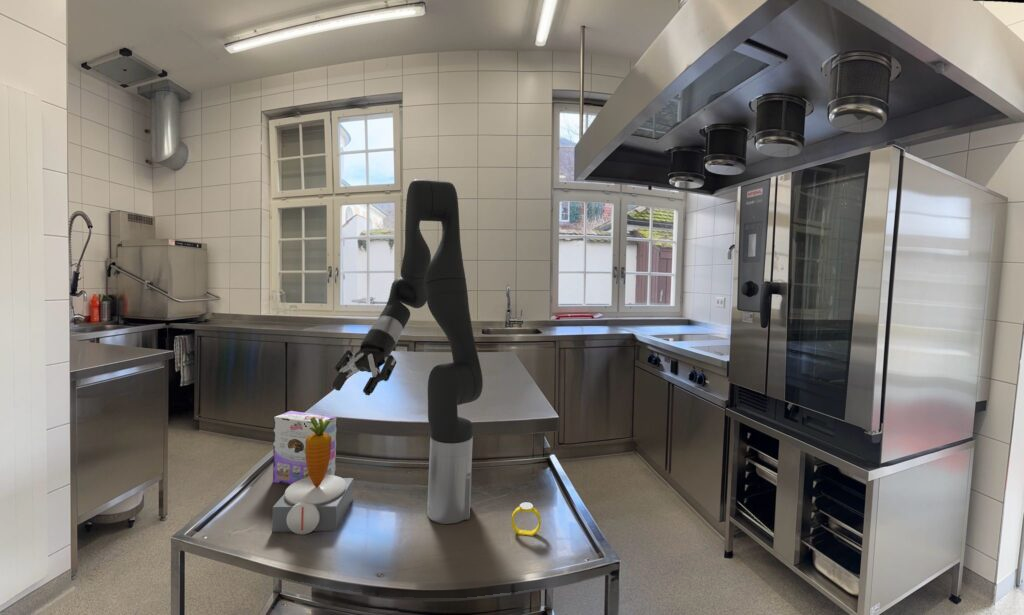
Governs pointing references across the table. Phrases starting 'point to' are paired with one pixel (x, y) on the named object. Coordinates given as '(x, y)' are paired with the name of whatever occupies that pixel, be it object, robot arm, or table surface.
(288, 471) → the candy box
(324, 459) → the carrot
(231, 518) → the table surface
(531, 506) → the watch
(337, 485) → the scale pan
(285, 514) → the scale base
